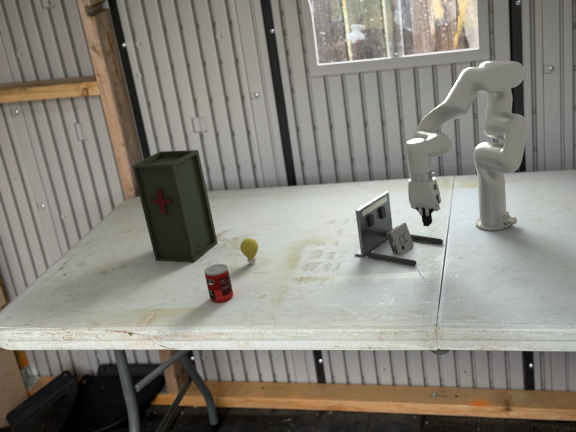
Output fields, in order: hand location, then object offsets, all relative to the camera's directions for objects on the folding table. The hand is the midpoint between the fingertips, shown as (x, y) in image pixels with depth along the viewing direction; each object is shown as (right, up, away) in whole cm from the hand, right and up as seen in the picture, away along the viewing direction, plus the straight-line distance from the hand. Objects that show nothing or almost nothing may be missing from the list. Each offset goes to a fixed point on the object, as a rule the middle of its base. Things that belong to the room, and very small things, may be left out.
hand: (427, 224), depth 228 cm
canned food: (-71, -25, -3) cm, 75 cm away
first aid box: (-89, -12, +41) cm, 99 cm away
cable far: (0, -6, +15) cm, 17 cm away
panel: (-15, -8, +16) cm, 24 cm away
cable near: (-12, -13, +2) cm, 18 cm away
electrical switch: (-8, -10, +10) cm, 16 cm away
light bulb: (-62, -15, +20) cm, 66 cm away
